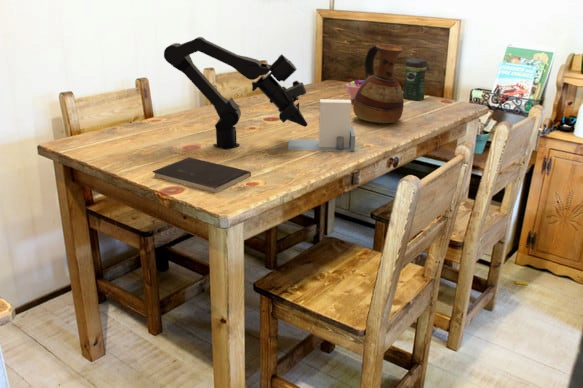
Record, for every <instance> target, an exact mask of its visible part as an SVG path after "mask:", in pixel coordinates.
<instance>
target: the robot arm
mask: <svg viewBox="0 0 583 388" xmlns="http://www.w3.org/2000/svg"><path fill="white" fill-rule="evenodd" d="M198 52H200V53H202V54H204V55H207V56H209V57H210V58H213V59H215V60H217V61H219V62H221V63H223V64H226V65H228V66H230V67H232V68H234V70H236V71H237V72H238V73H239V74H240V75H242V76H243V77H245V78H246V79H248V80H251V86H252V89H251V91H252V92H255V91H256V90H257V89H259V90H260V91H261V92H262V93H263V94H264V95H265V96H266V98H268V100H269V103H270V104H273V105H274V106H275V107H276V108H277V109H278V113H279V117H278V119H279V120H280V121H281V122H282V123H285V122H286V121H290V122H291V123H292V122H293V123H295V124H297V125H299V126H302V127H304V128H305V127H307V126H308V122H307V121H306V119H305V117H304V116H303V114H302V112H301V111H300V102H297V101H299V99H300V98H299V97H300V96H304V95H307V90H306V87H305V84H304V83H303V82H300V81H298V80H294V81H292V86H290V87H288V88H287V87H285V86H282V85H281V84H280V83H279V82H285V81H287V80H288V79H289V78H290V77H291V76H292V75H293V74H294V73H295V72H296V71H297V70H298V69H297V67H296V65H294V63H293V62H292V61H291V60H289V59H288V58H287V57H286V56H284V55H283V54H280V55H279V56H278V58H277V59H276V60H274V62H273V63H272V64H268V63H263V62H261V61H260V60H258V59H255V58H253V57H250V56H244V55H240V54H236V53H235V52H232V51H230V50H228V49H226V48H224V47H222V46H219V45H218V44H216V43H214V42H211V41H209V40H207V39H205V38H204V37H203V36H198V37H196V38H194V39H192V40H189V41H186V42H184V43H179V42H178V43H177V42H175V43H174V42H173V43H171V44H170V45H168V46H166V47H165V48H164V51H163V59H165V61H166V62H167V63H168V64H170V65H171V66H172V67H173V68H174V69H177V70H178V71H180V72H181V73H183V74H184V76H185V77H187V79H188V80H190V82H191V83H192V84H193V85H194V86H195V87H196V88H197V89H198V90H199V91H200V93H201V94H202V95H203V97H205V98H206V100H208V101H209V102H210V103H211V105H212V106H213V107H214V110H215V111H216V113H217V115H218V117H219V119H217V122H216V123H215V125H214V127H215V135H216V136H215V137H216V138H215V139H216V143H215V144H213V145H212V146H213V147H216V148H220V149H224V150H230V149H232V148H235V147H239V146H240V143H237V129H236V125H237V124H238V123H239V122H240V121H239V120H240V119H241V116H242V110H241V109H240V105H239V104H237V102H236V100H234V99H233V98H232V96H231V97H230V98H229V99H228V98H226V97H224V96H223V95H222V94H221V93H220V91H218V89H217V88H216V87H215V86H214V85H213V84H212V83H211V81H210V80H209V79H207V77H206V76H205V74H203V72H202V71H200V69H199V68H198V67H197V66H196V65H195V64H194V62H193V60H192V58H191V55H192V54H194V53H198ZM265 75H266V76H265ZM254 80H256V81H254ZM295 102H297V103H296V104H295Z"/></svg>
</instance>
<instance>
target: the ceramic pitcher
mask: <svg viewBox="0 0 583 388" xmlns="http://www.w3.org/2000/svg"><path fill="white" fill-rule="evenodd" d="M402 52H403V48H402V47H401V46H400V45H395V44H393V43H391V44H390V43H382V42H381V43H378V44H374V45H373V46H371V47H370V48H369V49H368V51H367V53H366V57H365V61H364V70H365V81H364V82H363V83H362V85H361V86H360V88H359V89H358V91H357V93H356V95H355V99H353V104H352V109H353V113H354V114H355V116H356V117H357V118H358V119H360V120H362V121H365V122H369V123H373V124H374V123H375V124H390V123H391V124H392V123H395V122H398V121H399V120H400V119H401V118H402V115H403V111H404V105H405V104H404V103H405V102H404V98H403V90H402V87H401V85H400V83H399V81H397V79H396V78H395V76H394V67H395V64H396V60H397V58H398V56H399V55H400V54H401V53H402ZM377 53H378V55H379V61H378V67H377V70H376V71H374V61H375V57H376V55H377Z"/></svg>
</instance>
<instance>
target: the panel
mask: <svg viewBox="0 0 583 388" xmlns="http://www.w3.org/2000/svg"><path fill="white" fill-rule="evenodd" d="M351 114H352V100H351V99H327V98H326V99H322V98H320V99H319V121H318V122H319V124H318V128H319V129H318V140H319V147H336V140H337V137H338V136H342V137H344V147H349V140H350V126H351V118H352V115H351Z"/></svg>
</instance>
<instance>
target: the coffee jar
mask: <svg viewBox="0 0 583 388" xmlns="http://www.w3.org/2000/svg"><path fill="white" fill-rule="evenodd" d="M404 69H405V78H404V85H403V86H404V87H403V90H402V93H403V99H407V100H410V101H411V100H412V101H421V100H424V98H425V77H426V76H425V75H426V71H427V69H428V61H427V60H426V59H422V58H417V57H416V58H414V57H411V58H407V59H406V62H405V66H404Z"/></svg>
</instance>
